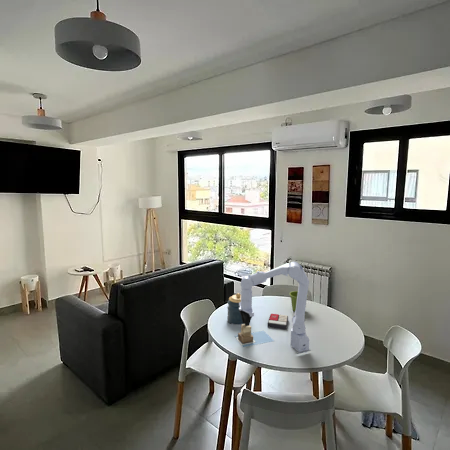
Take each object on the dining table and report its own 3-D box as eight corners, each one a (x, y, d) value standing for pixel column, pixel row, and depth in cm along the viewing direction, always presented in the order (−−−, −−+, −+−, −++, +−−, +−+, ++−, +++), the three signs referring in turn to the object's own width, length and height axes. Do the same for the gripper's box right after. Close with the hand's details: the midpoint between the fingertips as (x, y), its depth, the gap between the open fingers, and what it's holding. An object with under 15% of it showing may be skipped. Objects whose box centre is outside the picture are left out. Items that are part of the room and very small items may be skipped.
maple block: (251, 335, 158) (251, 326, 157) (244, 337, 156) (244, 327, 155) (247, 332, 161) (248, 323, 161) (241, 333, 160) (241, 324, 159)
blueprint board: (274, 342, 159) (274, 340, 158) (243, 348, 152) (243, 346, 152) (263, 332, 170) (263, 330, 170) (234, 337, 163) (234, 335, 163)
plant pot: (285, 308, 203) (285, 292, 201) (299, 305, 208) (300, 290, 206) (296, 315, 192) (297, 298, 191) (310, 312, 197) (311, 295, 196)
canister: (225, 324, 179) (225, 296, 176) (229, 315, 191) (230, 288, 189) (246, 327, 176) (247, 298, 173) (250, 317, 188) (250, 290, 186)
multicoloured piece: (288, 314, 185) (286, 324, 171) (288, 321, 186) (286, 331, 171) (270, 312, 188) (267, 321, 174) (270, 319, 188) (267, 329, 174)
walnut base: (253, 341, 157) (253, 336, 157) (242, 343, 155) (242, 338, 155) (248, 336, 163) (248, 331, 162) (238, 338, 161) (238, 332, 160)
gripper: (233, 295, 161) (233, 319, 163) (245, 305, 148) (244, 331, 150) (245, 293, 164) (245, 317, 166) (258, 303, 150) (257, 329, 152)
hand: (245, 324), depth 158 cm, fingers open, 3 cm apart
